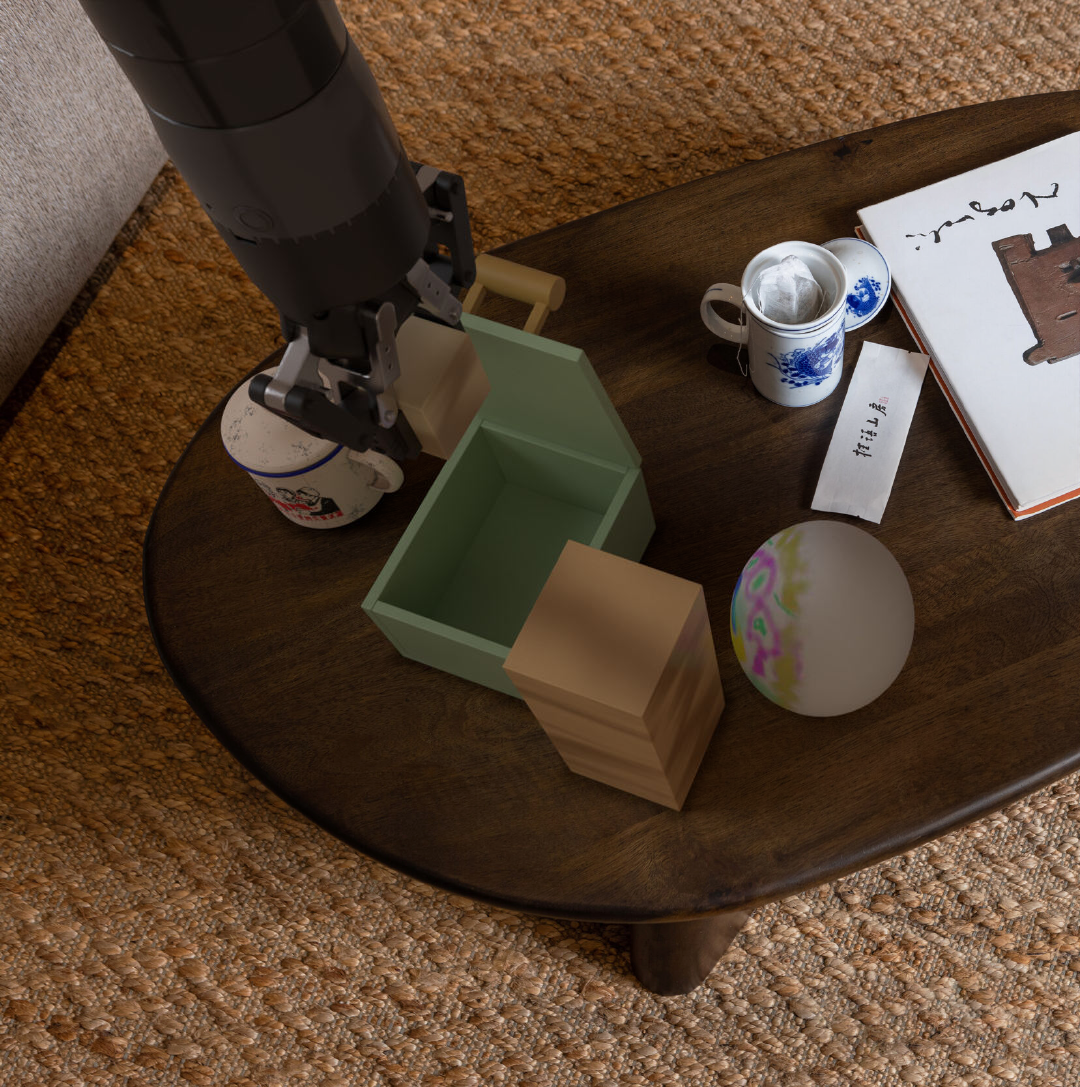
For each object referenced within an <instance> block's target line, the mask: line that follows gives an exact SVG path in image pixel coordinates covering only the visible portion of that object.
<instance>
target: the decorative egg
mask: <svg viewBox="0 0 1080 1087" xmlns="http://www.w3.org/2000/svg"><path fill="white" fill-rule="evenodd" d="M743 567H744V568H742V571H741V573H740V575H739V576H738V579H737V582H736V585H735V588H734V591H733V595H732V599H731V605H730V616H729V620H730V621H729V627H730V637H731V642H732V646H733V649H734V652H735V655H736V658H737V661H738V662H739V665H740V667H741V669H742V670H743V672H744V673H745V675H746V676H747V679H749V681H750V682H751V684H752V685H753V686H754V687H755V688H756V689H757V690H758V691H759V692H760V693H761V694H762V695H763V696H764V697H765V698H766V699H768V700H770V701H771V702H772V703H773V704H775V705H777V706H779V707H781V708H783V709H785V710H787V711H790V712H793V713H796V714H799V715H803V716H808V717H823V718H824V717H825V718H827V717H837V716H841V715H845V714H848V713H852V712H854V711H857V710H859V709H861V708H863V707H865V706H867V705H869V704H871V703H872V702H873V701H875V700H877V698H879V697H880V696H881V695H883V693H884V692H885V691H887V689H889V688H890V687H891V685H892V684H893V683H894V681H896V680H897V678H898V676H899V675H900V673H901V672H902V669H903V667H904V666H905V664H906V663H907V659H908V658H909V654H910V651H911V648H912V644H913V641H914V640H913V639H914V633H915V625H916V624H915V622H916V621H915V620H916V619H915V618H916V617H915V616H916V615H915V606H914V599H913V598H914V597H913V595H912V591H911V588H910V585H909V584H910V583H909V581H908V579H907V576H906V574H905V573H904V570H903V569H902V566H901V565H900V564H899V562H898V561H897V559H896V558H895V556H894V555H893V554H892V553H891V552H890V550H889V549H888V548H887V546H885V545H884V544H883V543H882V542H881V541H880V540H878V538H876V537H874V536H873V535H871V534H870V533H868V532H867V531H865V530H863V529H861V528H860V527H857V526H855V525H852V524H849V523H846V522H842V521H836V520H826V519H825V520H824V519H823V520H822V519H819V520H810V521H809V520H807V521H805V522H800V523H797V524H794V525H792V526H789V527H786V528H785V529H782V530H781V531H779V532H777V533H776V534H774V535H773V536H771V537H770V538H769V539H768V540H766V541H765V542H764V543H763V544H762V545H760V547H759V548H757V550H756V551H755V552H754V553H753V554H752V556H751V557H750V558H749V560H748V561H747V562H746V564H745V566H743Z"/></svg>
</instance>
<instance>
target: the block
mask: <svg viewBox="0 0 1080 1087" xmlns="http://www.w3.org/2000/svg"><path fill="white" fill-rule="evenodd" d="M395 342H396V348H397V353H398V359H399V365H400V371H401V376H400V378H399V379H398V380H396V381H395V382H394V383H393V384H394V390H395V395H396V401H397V406H398V409H400V410H402V411H403V413H404V415H405V416H406V418H407V420H408V422H409V424H410V425H411V427H412V429H413V431H414V432H415V434H416V436H417V438H418V439H419V441H420V443H421V445H422V446H423V449H422V450H421V452H423V453H425V454H427V455H430V456H434V457H436V458H440V459H443V460H446V461H447V460H449V459H450V457H451V456H452V454H453V452H454V451H455V449H456V447H457V446H458V444H459V442H460V441H461V439H462V437H463V436H464V434H465V432H466V431H467V429H468V427H469V426H470V424H471V422H472V421H473V419H474V417H475V415H476V414H477V412H478V410H479V409H480V407H481V405H482V404H483V402H484V400H485V399H486V397H487V395H488V394H489V392H490V390H491V388H492V387H491V385H490V382H489V380H488V378H487V375H486V373H485V371H484V368H483V366H482V364H481V361H480V359H479V357H478V354H477V352H476V350H475V347H474V345H473V343H472V340H471V338H470V336H469V334H468V333H465V332H462V331H459V330H456V329H453V328H450V327H447V326H444V325H441V324H437V323H434V322H431V321H428V320H425V319H422V318H419V317H416V316H413V315H411V316H410V317H409V318H408V319H407V320H406V321H405V322H404V323H403V324H402V325H401V327H400V329H399V331H398V334H397V336H396V338H395ZM358 388H359V390H360V391H363V392H366V393H367V391H366V390H365V389H364V388H362V387H359V386H358Z"/></svg>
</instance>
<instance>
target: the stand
mask: <svg viewBox="0 0 1080 1087" xmlns="http://www.w3.org/2000/svg"><path fill="white" fill-rule="evenodd" d="M712 634H713V633H712V630H711V623H710V619H709V613H708V609H707V602H706V599H705V593H704V587H703V585H702V584H700V583H697V582H694V581H691V580H689V579H685V578H683V577H679V576H677V575H675V574H671V573H668V572H666V571H662V570H659V569H658V568H657V569H656V568H653V567H650V566H648V565H645V564H642V563H640V562H639V563H636V562H633V561H630V560H627V559H624V558H622V557H619V556H616V555H613V554H610V553H607V552H604V551H601V550H598V549H595V548H592V547H589V546H587V545H584V544H581V543H578V542H575V541H572V540H568V542H567V544H566V546H565V547H564V549H563V551H562V553H561V555H560V557H559V559H558V561H557V563H556V565H555V567H554V569H553V570H552V572H551V574H550V576H549V578H548V580H547V582H546V584H545V586H544V588H543V590H542V592H541V593H540V595H539V597H538V599H537V601H536V603H535V605H534V607H533V609H532V611H531V613H530V615H529V616H528V618H527V620H526V622H525V624H524V626H523V628H522V630H521V632H520V634H519V636H518V638H517V639H516V641H515V643H514V645H513V647H512V649H511V651H510V653H509V655H508V657H507V659H506V661H505V663H504V664H503V668H504V670H505V671H506V673H507V674H508V676H509V678H510V679H511V681H512V682H513V684H514V685H515V687H516V688H517V690H518V691H519V693H520V694H521V696H522V697H523V699H524V700H523V701H524V702H525V704H526V705H527V706H528V708H529V710H530V711H531V713H532V714H533V716H534V717H535V719H536V721H537V722H538V724H539V725H540V726H541V727H542V729H543V731H544V733H545V734H546V735H547V737H548V739H549V740H550V741H551V743H552V744H553V746H554V748H555V749H556V751H557V752H558V753H559V755H560V756H561V758H562V759H563V761H564V762H565V764H566V765H567V767H568V769H569V771H570V772H573V773H575V774H577V775H580V776H583V777H585V778H588V779H591V780H594V781H596V782H599V783H602V784H604V785H607V786H610V787H613V788H615V789H618V790H620V791H623V792H626V793H629V794H631V795H634V796H636V797H639V798H643V799H644V800H648V801H650V802H653V803H656V804H658V805H661V806H664V807H666V808H669V809H671V810H675V811H677V812H681V810H682V808H683V806H684V803H685V801H686V799H687V796H688V794H689V792H690V789H691V787H692V785H693V782H694V779H695V778H696V775H697V773H698V770H699V768H700V765H701V763H702V761H703V759H704V756H705V753H706V751H707V749H708V747H709V744H710V742H711V739H712V737H713V735H714V733H715V730H716V728H717V725H718V724H719V721H720V718H721V716H722V713H723V711H724V709H725V706H726V701H725V695H724V690H723V686H722V680H721V676H720V670H719V665H718V660H717V655H716V649H715V644H714V640H713V635H712Z"/></svg>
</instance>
